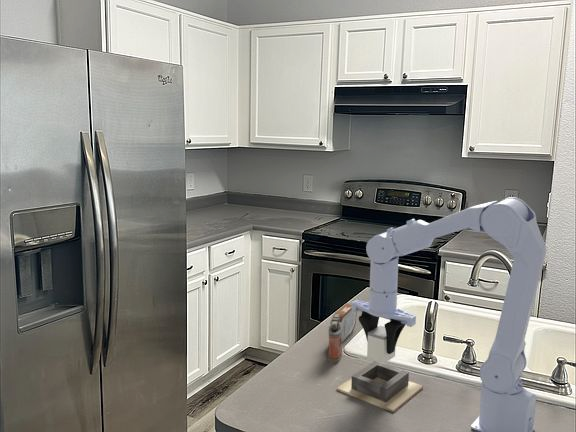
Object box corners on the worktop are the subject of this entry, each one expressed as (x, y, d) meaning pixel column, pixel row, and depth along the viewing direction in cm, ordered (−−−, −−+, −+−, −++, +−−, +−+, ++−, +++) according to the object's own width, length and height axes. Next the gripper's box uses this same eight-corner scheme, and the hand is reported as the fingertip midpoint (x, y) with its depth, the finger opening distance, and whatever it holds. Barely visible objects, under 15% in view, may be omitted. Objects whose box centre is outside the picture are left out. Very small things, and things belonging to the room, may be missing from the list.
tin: (347, 326, 152) (348, 298, 150) (358, 328, 151) (359, 300, 149) (327, 347, 139) (327, 316, 137) (338, 349, 138) (339, 318, 136)
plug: (395, 356, 117) (396, 330, 116) (383, 364, 113) (384, 337, 112) (379, 350, 120) (380, 325, 118) (367, 358, 116) (367, 332, 115)
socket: (423, 388, 118) (423, 373, 117) (393, 412, 108) (394, 396, 108) (368, 368, 127) (368, 354, 126) (336, 389, 117) (336, 375, 117)
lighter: (340, 363, 130) (340, 324, 128) (326, 362, 130) (326, 323, 128) (343, 349, 137) (344, 312, 135) (330, 348, 138) (331, 311, 136)
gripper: (423, 291, 112) (420, 352, 114) (364, 277, 121) (362, 334, 124) (407, 300, 107) (404, 364, 109) (346, 285, 116) (345, 344, 118)
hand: (381, 349), depth 116 cm, fingers closed on plug, 4 cm apart
